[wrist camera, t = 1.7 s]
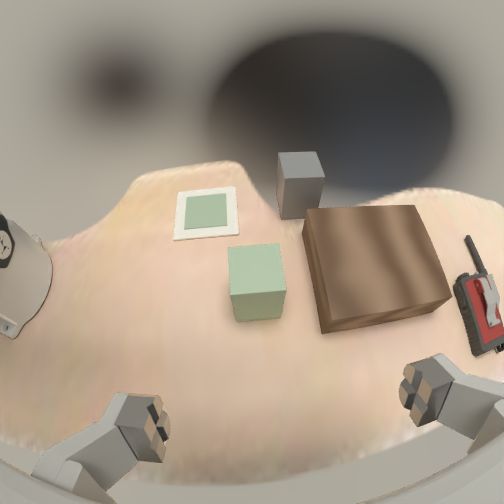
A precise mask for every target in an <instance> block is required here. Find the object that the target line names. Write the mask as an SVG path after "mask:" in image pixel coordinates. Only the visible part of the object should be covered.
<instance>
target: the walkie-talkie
mask: <svg viewBox="0 0 504 504" xmlns="http://www.w3.org/2000/svg"><path fill="white" fill-rule="evenodd" d="M466 241H467V243H468V245H469V247H470V249H471V252H472V254H473V256H474V259H475V261H476V263H477V266H478V268H479V271H480V273H479V272H478V271H477V272H475V273H474V275H471V276H469V274H468V273H463V274H462V275H460V276H459V277H458V278H457V281H458V282H457V283H456V284H454V285H453V290H454V293H455V296H456V299H457V302H458V305H459V308H460V311H461V315H462V316H463V320H464V323H465V327H466V328H465V329H466V330H467V334H468V335H467V336H468V338H469V339H468V340H469V344H470V347H471V351H472V354H473V355H474V356H475V357H476V356H478V355H480V354H483V353H485V352H487V351H489V350H491V349H493V348H495V347H496V348H497V350H498V351H499V352H501V351H503V350H504V327H503V323H502V320H501V316H500V313H499V310H498V309H499V299H500V296H499V294H498V291H497V288H496V285H495V282H494V280H493V276H492V274H490V275H488V273H487V271H486V269H485V268H484V266H483V263H482V261H481V258H480V256H479V254H478V252H477V249H476V247H475V245H474V243H473V241H472V239H471V237H470V235H467V236H466ZM500 344H501V347H500Z"/></svg>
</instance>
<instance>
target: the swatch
mask: <svg viewBox="0 0 504 504" xmlns="http://www.w3.org/2000/svg"><path fill="white" fill-rule="evenodd" d="M233 235H239V228H238V214H237V199H236V186H232V187H221V188H211V189H201V190H192V191H184V192H178V198H177V207H176V216H175V226H174V237H173V240H174V241H178V240H188V239H199V238H210V237H221V236H233Z"/></svg>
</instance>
